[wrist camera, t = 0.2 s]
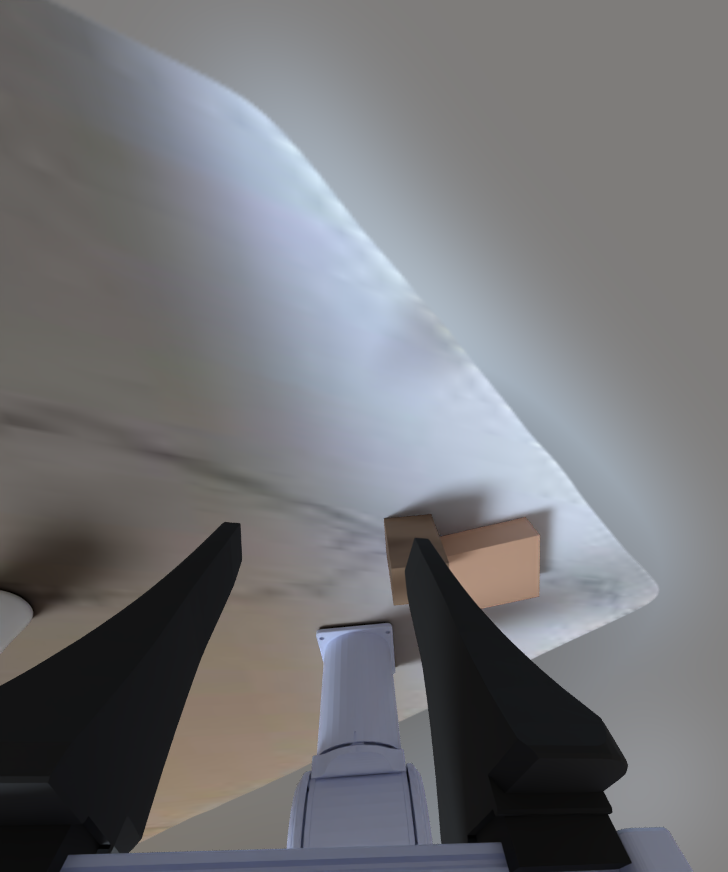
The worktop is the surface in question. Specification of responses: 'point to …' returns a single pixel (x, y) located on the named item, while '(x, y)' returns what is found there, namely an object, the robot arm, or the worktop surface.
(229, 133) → the worktop surface
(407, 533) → the walnut block
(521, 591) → the terracotta tile
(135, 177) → the worktop surface
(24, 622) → the drinking glass
